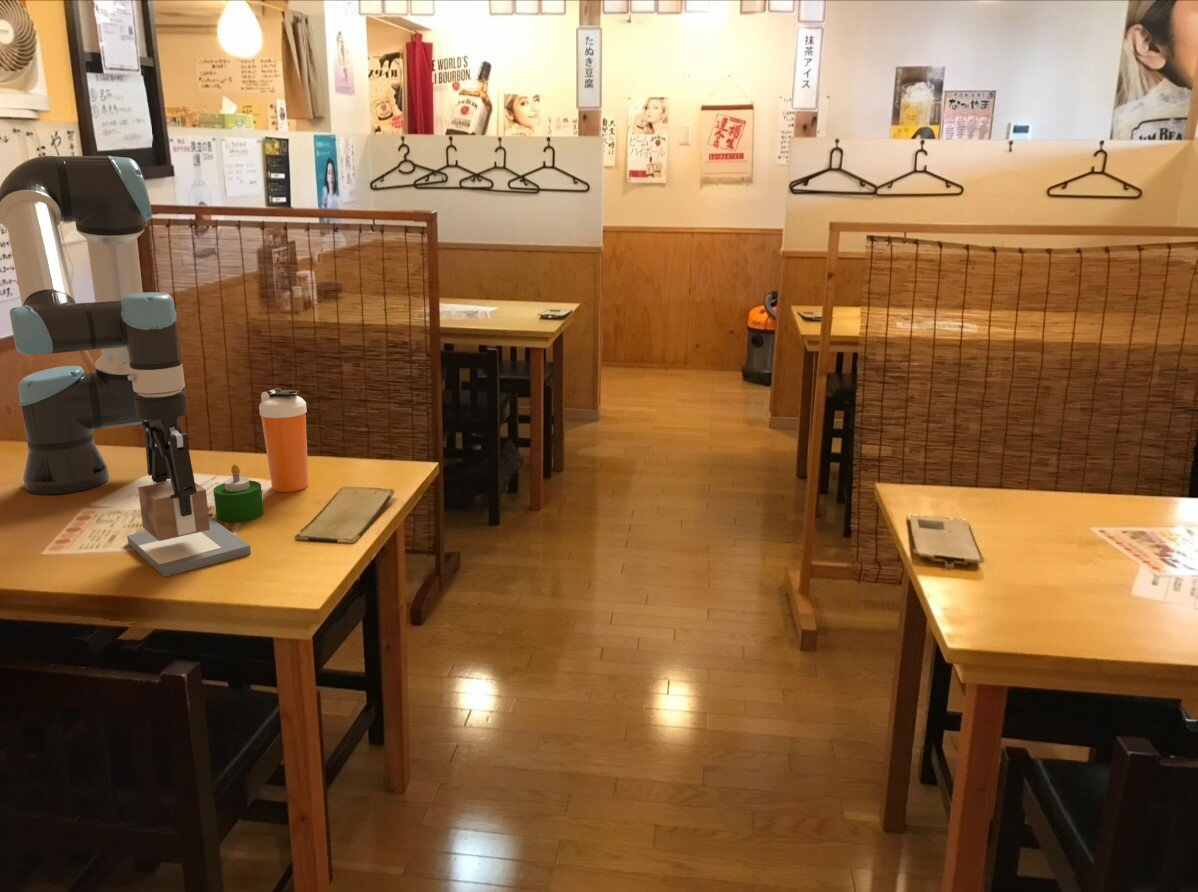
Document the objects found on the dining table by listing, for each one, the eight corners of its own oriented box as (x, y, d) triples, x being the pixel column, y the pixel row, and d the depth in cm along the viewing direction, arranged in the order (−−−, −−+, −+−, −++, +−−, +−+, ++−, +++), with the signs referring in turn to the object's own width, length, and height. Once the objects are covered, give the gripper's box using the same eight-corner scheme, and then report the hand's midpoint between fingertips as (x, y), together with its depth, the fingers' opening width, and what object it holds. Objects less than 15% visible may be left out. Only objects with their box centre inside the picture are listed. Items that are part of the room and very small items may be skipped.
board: (128, 543, 161) (126, 535, 160) (210, 524, 170) (209, 515, 169) (164, 577, 148) (163, 567, 148) (250, 553, 157) (249, 544, 157)
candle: (273, 513, 175) (268, 462, 173) (235, 526, 169) (229, 474, 166) (245, 504, 180) (240, 454, 177) (207, 517, 173) (201, 466, 170)
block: (142, 527, 155) (138, 487, 153) (192, 516, 160) (188, 478, 158) (159, 541, 149) (154, 499, 147) (209, 529, 154) (205, 489, 152)
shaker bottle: (299, 495, 185) (290, 397, 179) (258, 492, 186) (248, 394, 181) (321, 481, 193) (313, 387, 187) (281, 478, 195) (272, 384, 189)
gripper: (113, 384, 153) (132, 514, 159) (157, 407, 138) (176, 549, 145) (161, 377, 158) (178, 504, 164) (208, 399, 143) (224, 537, 150)
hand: (177, 525), depth 154 cm, fingers closed on block, 8 cm apart
